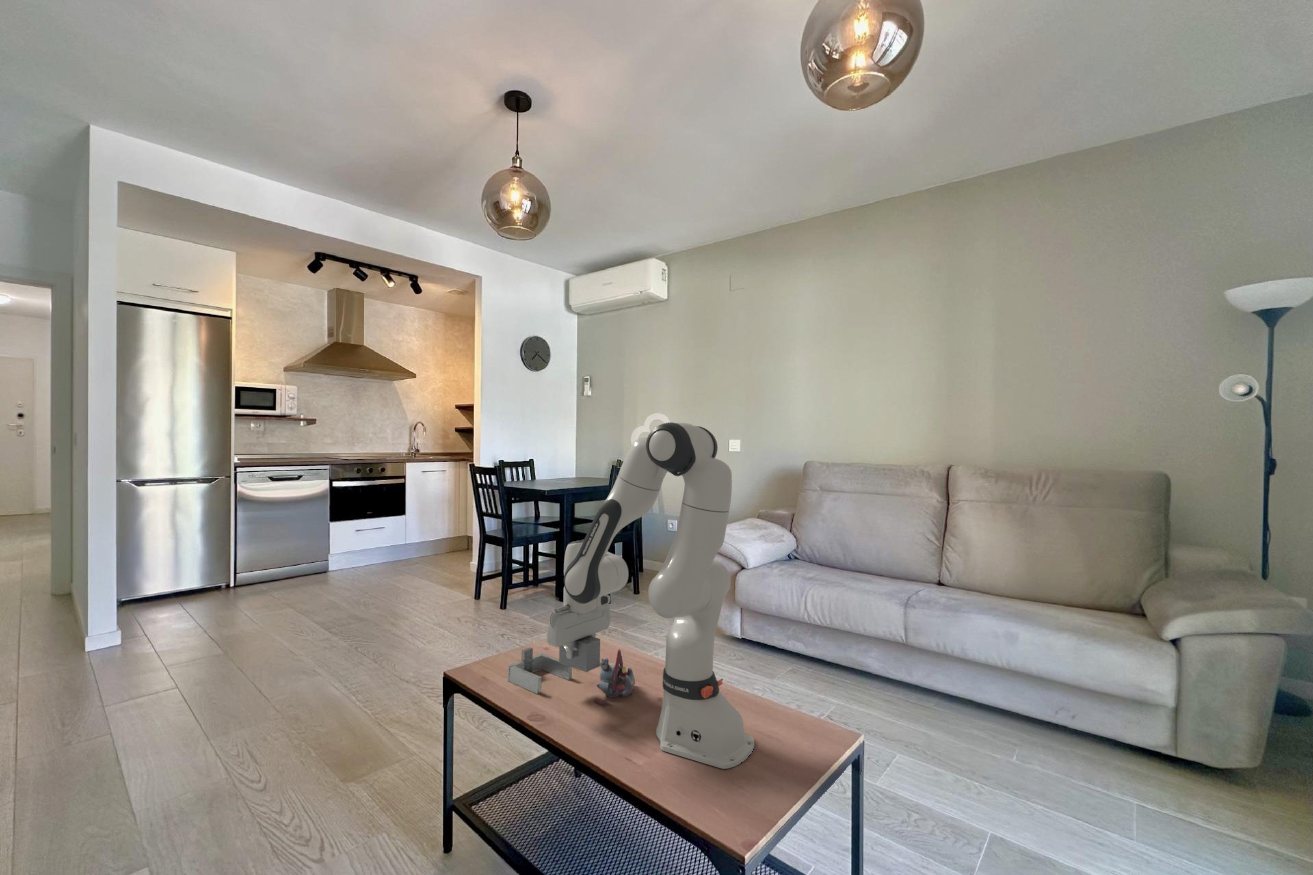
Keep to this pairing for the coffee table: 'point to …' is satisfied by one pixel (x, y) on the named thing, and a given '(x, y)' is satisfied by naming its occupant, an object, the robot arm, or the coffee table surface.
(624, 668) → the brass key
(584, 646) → the block
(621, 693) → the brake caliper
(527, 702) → the coffee table surface
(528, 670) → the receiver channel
